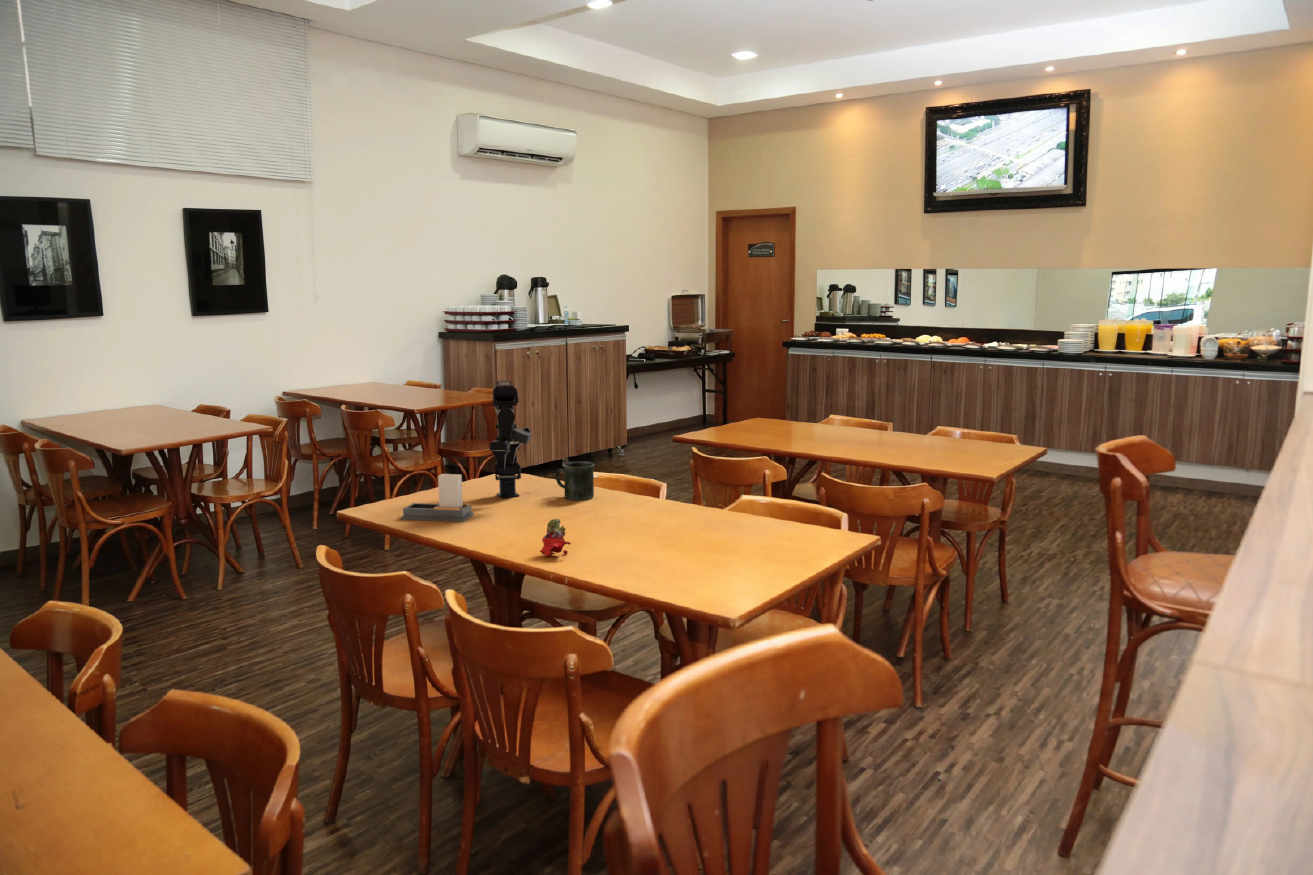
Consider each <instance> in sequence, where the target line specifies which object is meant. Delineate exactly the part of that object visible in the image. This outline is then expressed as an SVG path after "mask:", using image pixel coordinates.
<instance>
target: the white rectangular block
mask: <svg viewBox="0 0 1313 875" xmlns="http://www.w3.org/2000/svg"><path fill="white" fill-rule="evenodd" d="M437 476H438V477H437V482H438V483H437V484H438V502H439V503H438V504H439V507H443V508H460V509H462V508H463V502H464V501H463V483H462V482H463V478H462V476H463V475H462V474H461V473H460V474H457V473H456V474H455V473H453V474H451V473H441V474H439V475H437Z"/></svg>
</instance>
